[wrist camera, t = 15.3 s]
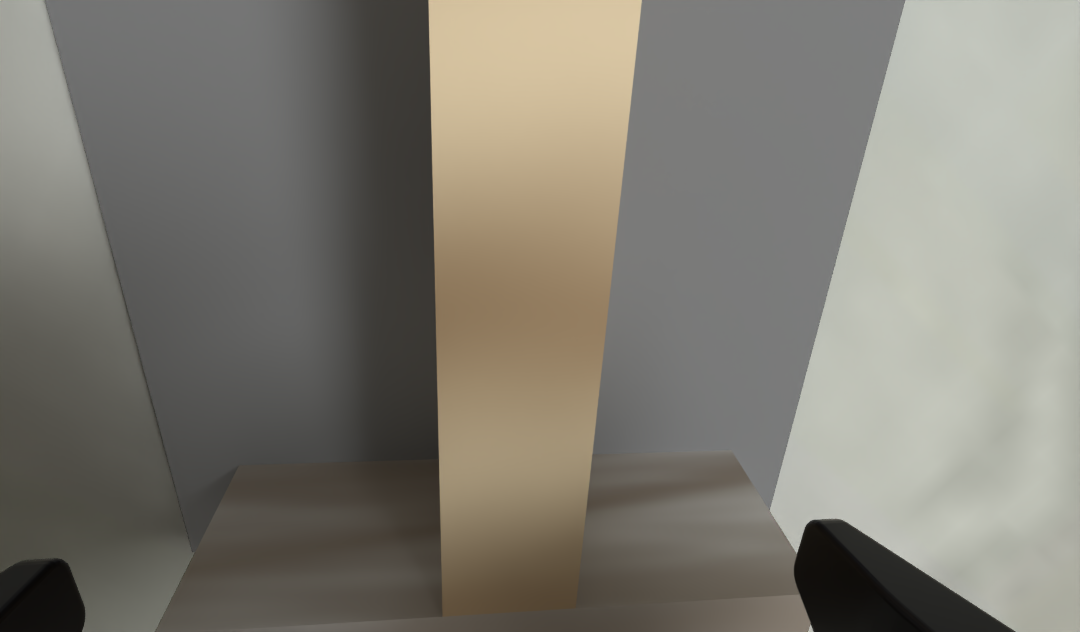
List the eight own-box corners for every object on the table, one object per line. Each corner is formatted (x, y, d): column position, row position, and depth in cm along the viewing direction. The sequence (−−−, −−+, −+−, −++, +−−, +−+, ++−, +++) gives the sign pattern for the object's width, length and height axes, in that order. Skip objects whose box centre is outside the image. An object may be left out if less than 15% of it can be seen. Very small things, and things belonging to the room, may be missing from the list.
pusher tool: (112, -179, 9) (-152, -332, 5) (859, -111, 11) (1092, -189, 7) (246, 505, 15) (168, 681, 11) (722, 486, 16) (806, 635, 12)
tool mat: (759, 511, 17) (766, 521, 17) (198, 539, 16) (192, 551, 15) (944, -203, 11) (961, -211, 10) (-20, -303, 9) (-40, -317, 8)
